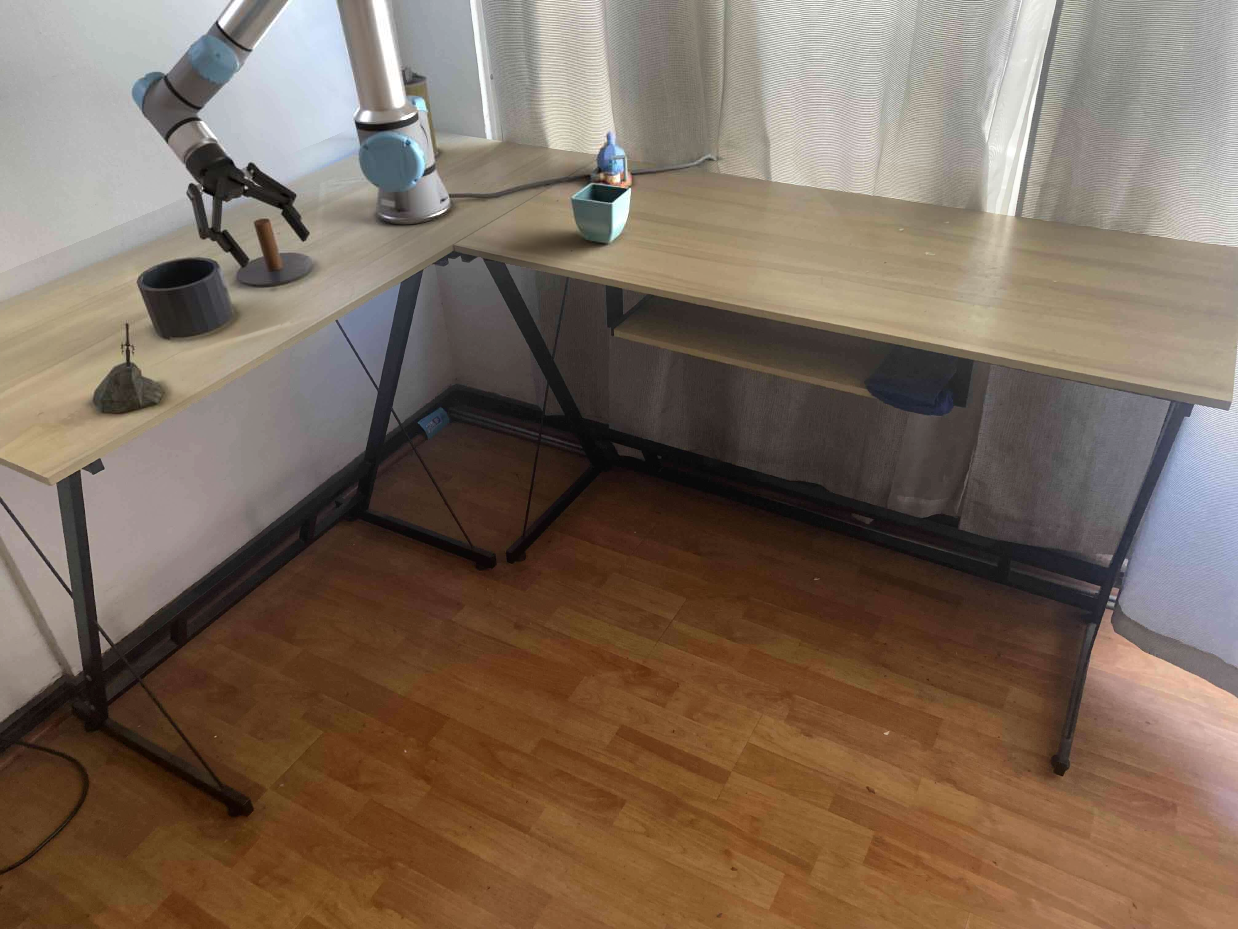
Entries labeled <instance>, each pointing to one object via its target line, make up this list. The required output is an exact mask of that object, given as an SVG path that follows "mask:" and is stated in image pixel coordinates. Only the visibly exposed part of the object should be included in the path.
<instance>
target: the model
mask: <svg viewBox="0 0 1238 929" xmlns="http://www.w3.org/2000/svg"><path fill="white" fill-rule="evenodd" d="M615 136H616V135H615V133H614V132H612V131H608V132H607V133H606V135H605V137H606V141H605V142H604V144H603V145H602V146H601V147H600V149H599V151H598V153H597V157H596V165H597V167H595V168H594V169H593V170H592V171H591V172H590V174H591V178H589V184H591V183H596V184H603V185H610V186H618V187H626V188H629V187H630V186H632V185H633V181H632V174H630V172H627V171H628V158H627V154H626V153H625V151H624V150H623V148H621V146H619V145H617V144H616V142H615V138H616V137H615ZM623 171H624V172H623ZM599 173H600V174H599Z"/></svg>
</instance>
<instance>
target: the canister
mask: <svg viewBox="0 0 1238 929" xmlns="http://www.w3.org/2000/svg"><path fill="white" fill-rule="evenodd" d="M400 67H401V72H402V77H403V82H404V87H405V92H406V96H407V95H410V96H419V97H421V98H422V99H423V100H424V101H425V105H426V109H427V110H428V114H427V117H428V123H429V129H430V135H431V141H432V147H433V153H434V158H435V157H437V156H438V154H439V150H438V149H437V141H436V134H435V129H434V124H433V118H432V112H431V104H430V98H429V92H428V87H427V77H426V76H425V75H421V74H418V73H417V72H413V71H412V67H411V66H400Z"/></svg>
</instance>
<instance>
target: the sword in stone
mask: <svg viewBox="0 0 1238 929" xmlns="http://www.w3.org/2000/svg"><path fill="white" fill-rule="evenodd" d="M125 338H126V339H125V341H124V342H125V343H124V342H121V344H120V346H121V347H120V349H121V354H122V355H124V352H125V361H124V362H123V363H119V364H118V365H115V366H112V368H111V370H110V371H109V372H108V374H106V376H105V377H104V378H103V380H102V381H101V382H100V383H99V385H98V386H97V387H96V388H95V389H94V393H93V396H92V403H93V405H95V407H96V408H97V409H98V410H99V411H100V413H109V414H123V413H128V412H131V411H132V412H133V411H137V410H140V409H144V408H147V407H151V406H154V405H158V404H159V403H160V401H161V398H162V397H163V394H164V390H163V388H162V386H161V384H160V382H159V381H155V380H153V379H152V378H150V377H147V376H143V375H142V370H141V369H140V368H139V367H138V365H137V364H136V363H135V362H131V354H132V356H134V355H135V346H134V344H133V343H131V342H130V324H129V322H125ZM124 347H126V348H125V350H124ZM130 348H131V349H130Z"/></svg>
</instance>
